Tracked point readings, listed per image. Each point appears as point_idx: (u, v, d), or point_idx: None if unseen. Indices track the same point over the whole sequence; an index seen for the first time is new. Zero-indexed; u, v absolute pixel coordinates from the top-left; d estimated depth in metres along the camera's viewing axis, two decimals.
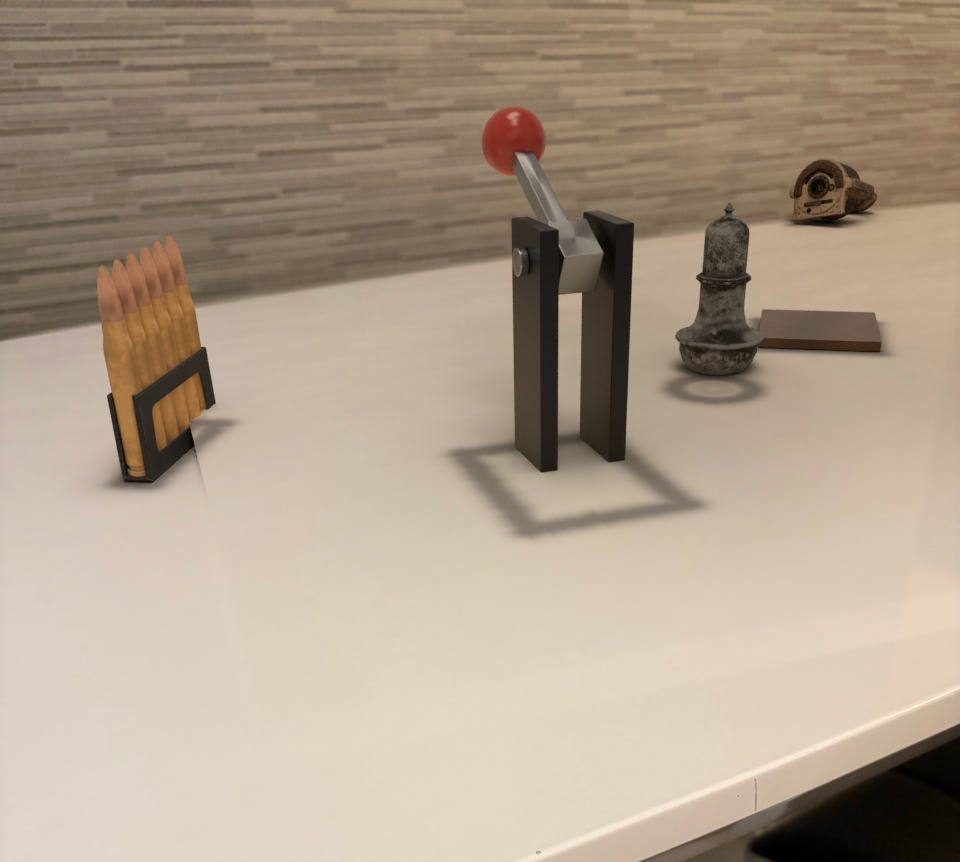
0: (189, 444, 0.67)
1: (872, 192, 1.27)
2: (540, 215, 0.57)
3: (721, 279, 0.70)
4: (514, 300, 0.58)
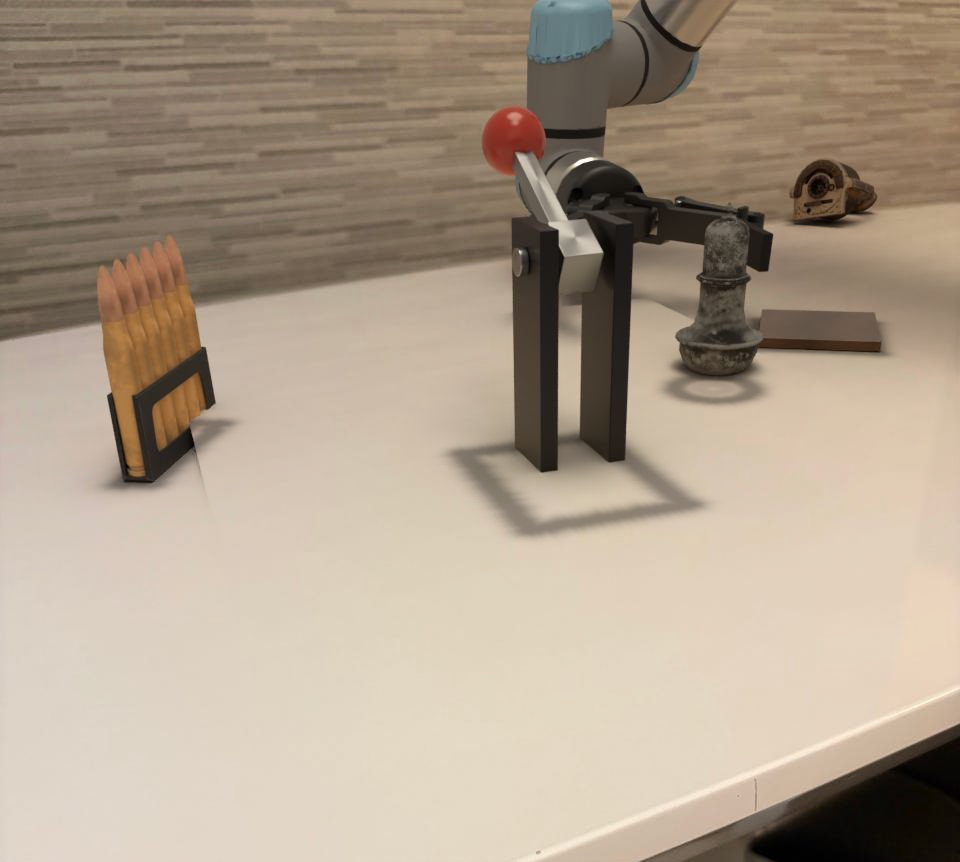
0: (189, 444, 0.67)
1: (872, 192, 1.27)
2: (540, 215, 0.57)
3: (721, 279, 0.70)
4: (514, 300, 0.58)
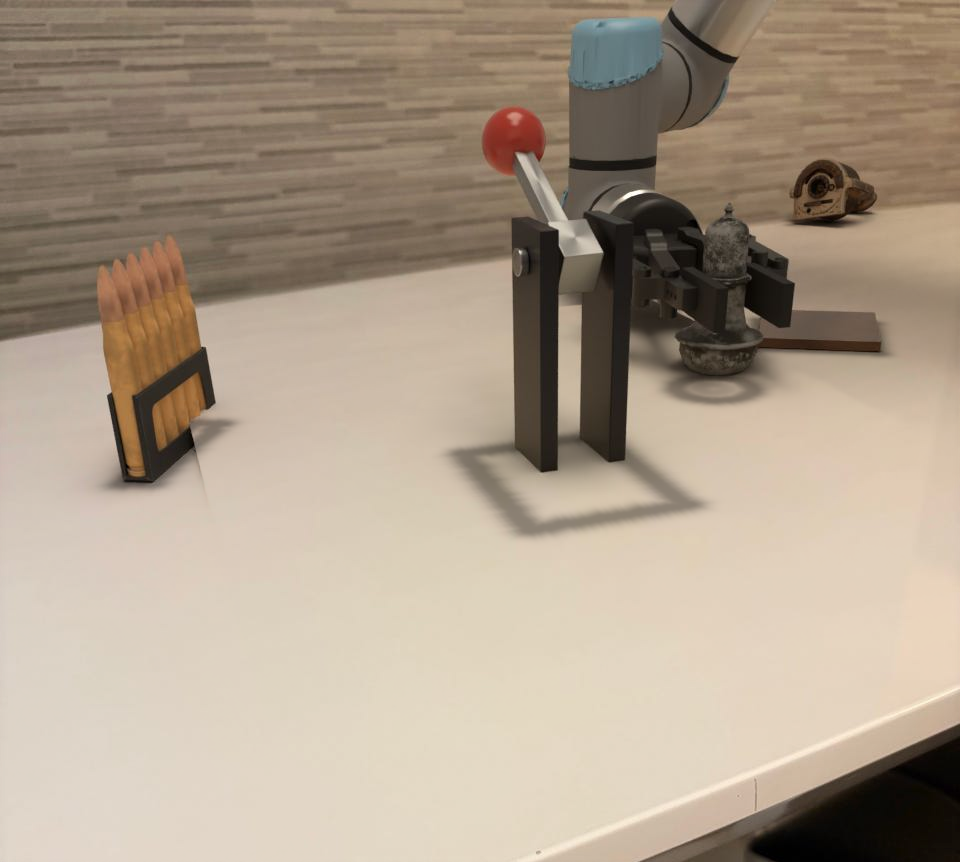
0: (189, 444, 0.67)
1: (872, 192, 1.27)
2: (540, 215, 0.57)
3: (721, 279, 0.70)
4: (514, 300, 0.58)
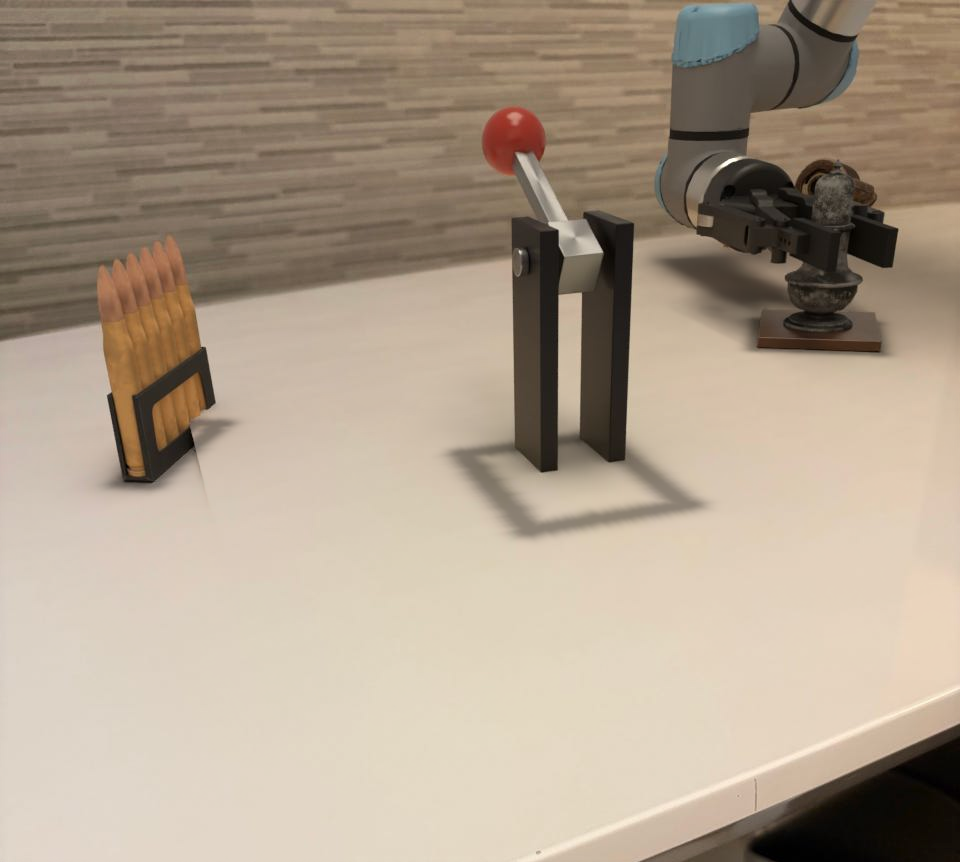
0: (189, 444, 0.67)
1: (872, 192, 1.27)
2: (540, 215, 0.57)
3: (830, 226, 0.80)
4: (514, 300, 0.58)
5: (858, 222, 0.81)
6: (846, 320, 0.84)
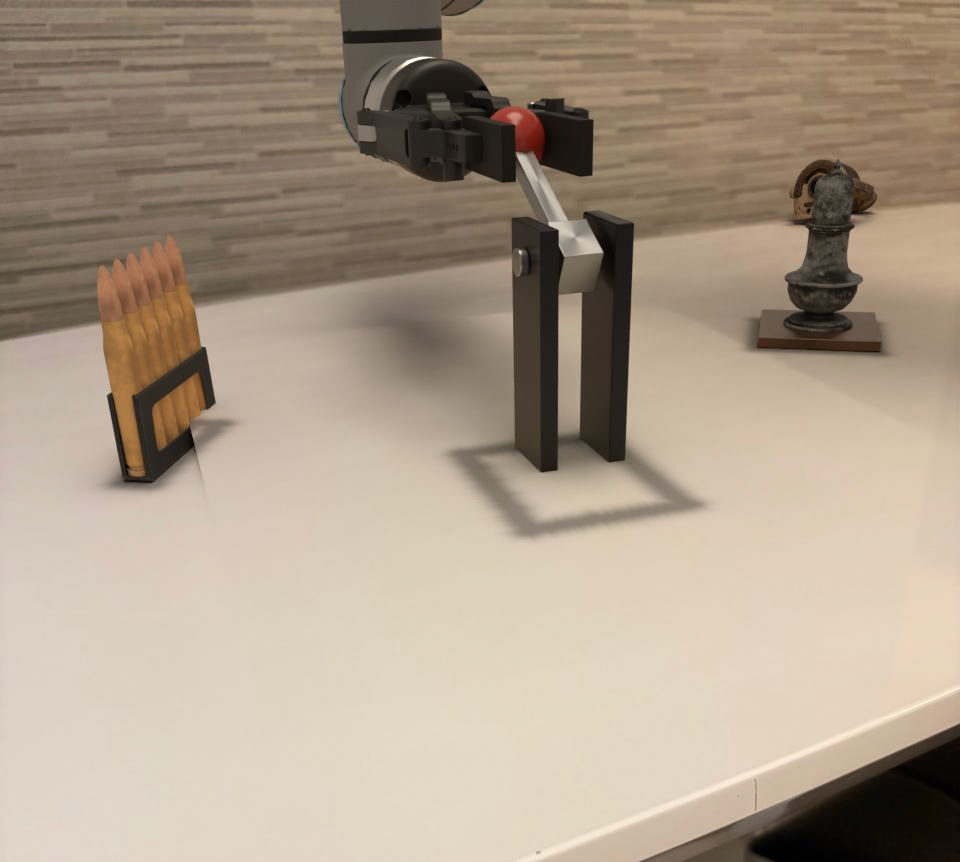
0: (189, 444, 0.67)
1: (872, 192, 1.27)
2: (540, 215, 0.57)
3: (829, 226, 0.80)
4: (514, 300, 0.58)
5: (548, 119, 0.60)
6: (846, 320, 0.84)
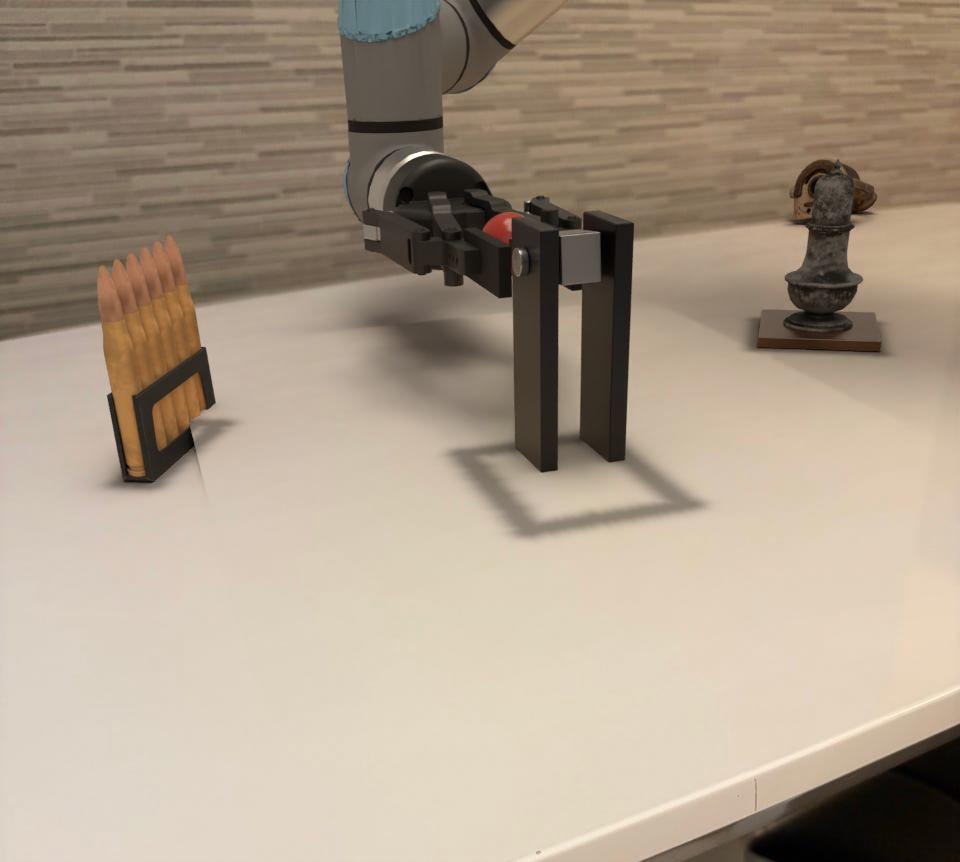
0: (189, 444, 0.67)
1: (872, 192, 1.27)
2: None
3: (829, 226, 0.80)
4: (514, 300, 0.58)
5: None
6: (846, 320, 0.84)
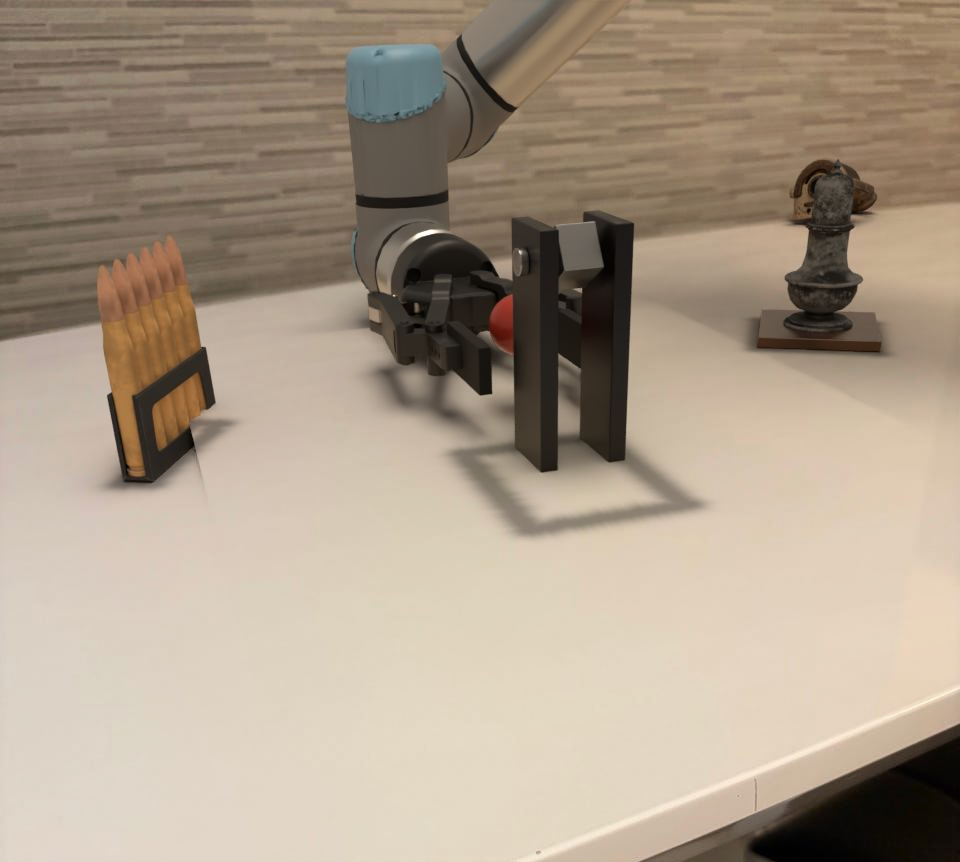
0: (189, 444, 0.67)
1: (872, 192, 1.27)
2: None
3: (829, 226, 0.80)
4: (514, 300, 0.58)
5: (568, 320, 0.66)
6: (846, 320, 0.84)
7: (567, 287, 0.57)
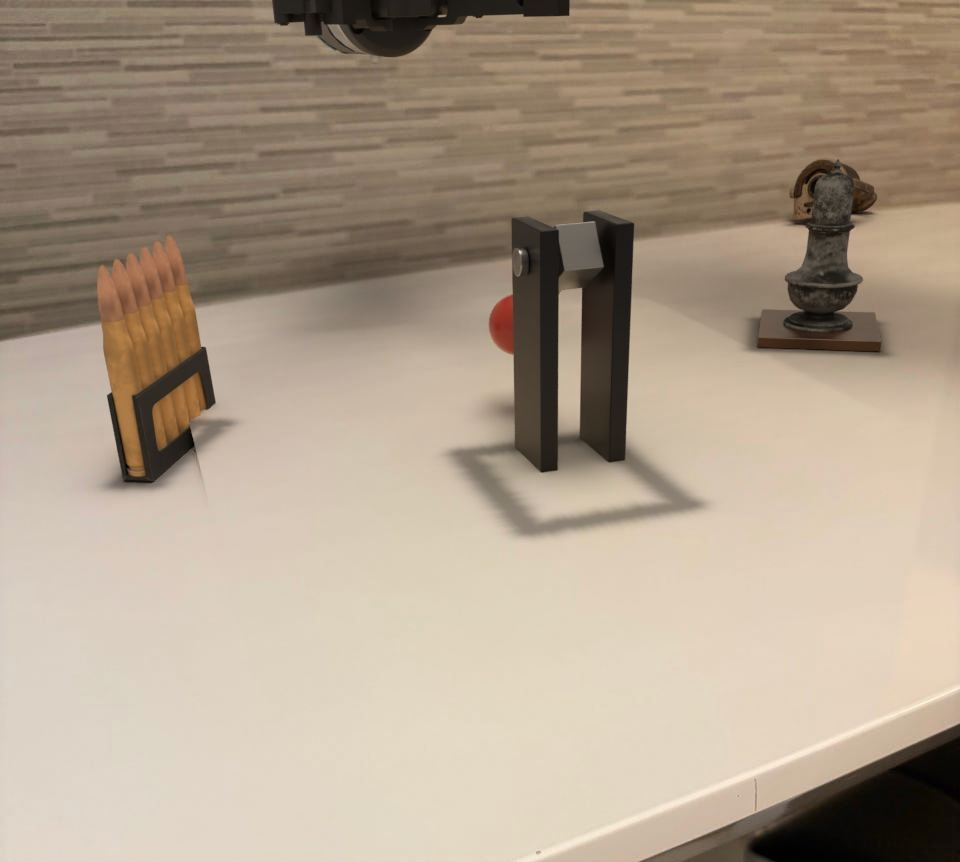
0: (189, 444, 0.67)
1: (872, 192, 1.27)
2: None
3: (829, 226, 0.80)
4: (514, 300, 0.58)
5: None
6: (846, 320, 0.84)
7: (567, 287, 0.57)
